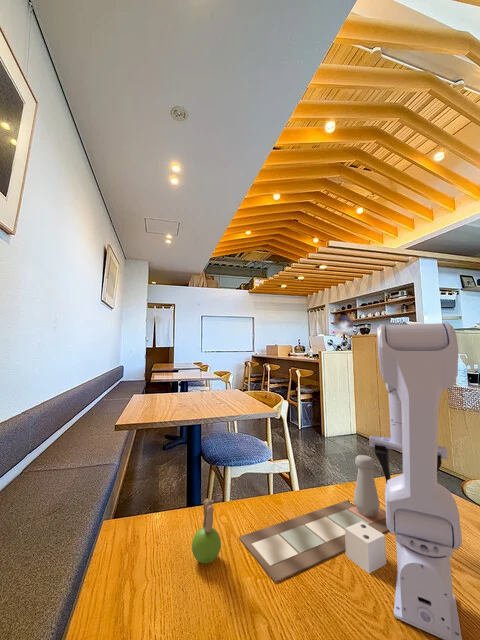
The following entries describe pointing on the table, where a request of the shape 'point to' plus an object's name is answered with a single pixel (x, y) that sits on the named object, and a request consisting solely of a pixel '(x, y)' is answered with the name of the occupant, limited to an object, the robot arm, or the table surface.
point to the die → (365, 546)
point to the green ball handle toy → (206, 537)
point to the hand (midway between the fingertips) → (408, 486)
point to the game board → (306, 539)
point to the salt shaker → (366, 487)
